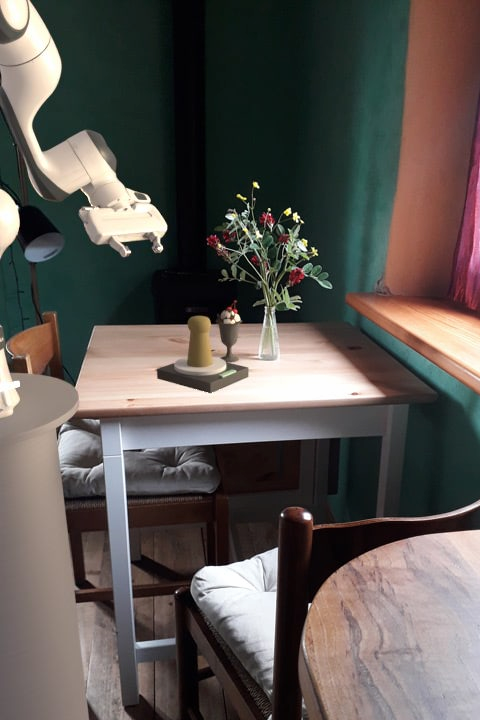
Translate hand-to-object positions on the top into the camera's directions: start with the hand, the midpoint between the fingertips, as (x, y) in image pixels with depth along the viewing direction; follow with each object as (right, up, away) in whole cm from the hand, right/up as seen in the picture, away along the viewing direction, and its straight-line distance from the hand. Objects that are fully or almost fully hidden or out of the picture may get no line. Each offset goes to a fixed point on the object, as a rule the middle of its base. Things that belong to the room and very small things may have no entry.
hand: (143, 253), depth 140 cm
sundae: (+19, -23, +17) cm, 34 cm away
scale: (+13, -28, +3) cm, 31 cm away
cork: (+13, -25, +3) cm, 28 cm away
